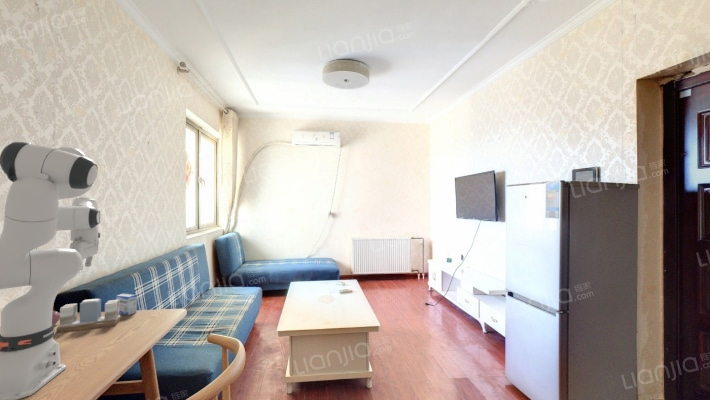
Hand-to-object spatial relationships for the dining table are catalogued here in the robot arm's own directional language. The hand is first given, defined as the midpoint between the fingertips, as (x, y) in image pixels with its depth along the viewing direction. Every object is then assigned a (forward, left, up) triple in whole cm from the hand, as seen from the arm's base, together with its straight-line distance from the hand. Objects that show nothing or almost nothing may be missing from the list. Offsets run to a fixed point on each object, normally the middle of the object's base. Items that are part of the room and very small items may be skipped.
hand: (83, 268), depth 133 cm
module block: (+2, -2, -23) cm, 23 cm away
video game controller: (+9, +15, -26) cm, 31 cm away
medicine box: (+14, -12, -25) cm, 31 cm away
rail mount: (+2, -2, -25) cm, 25 cm away
